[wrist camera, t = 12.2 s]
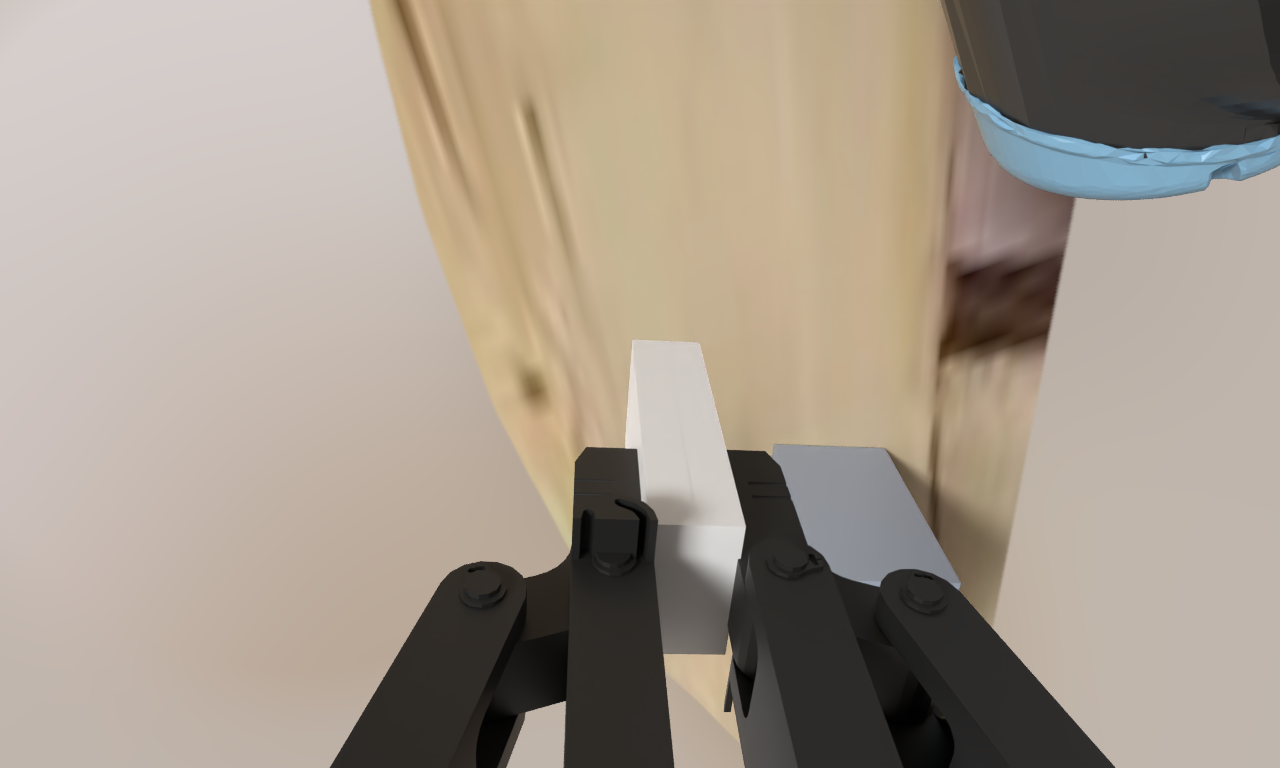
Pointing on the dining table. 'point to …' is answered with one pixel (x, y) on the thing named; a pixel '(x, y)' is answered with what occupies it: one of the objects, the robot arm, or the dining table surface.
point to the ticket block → (859, 512)
